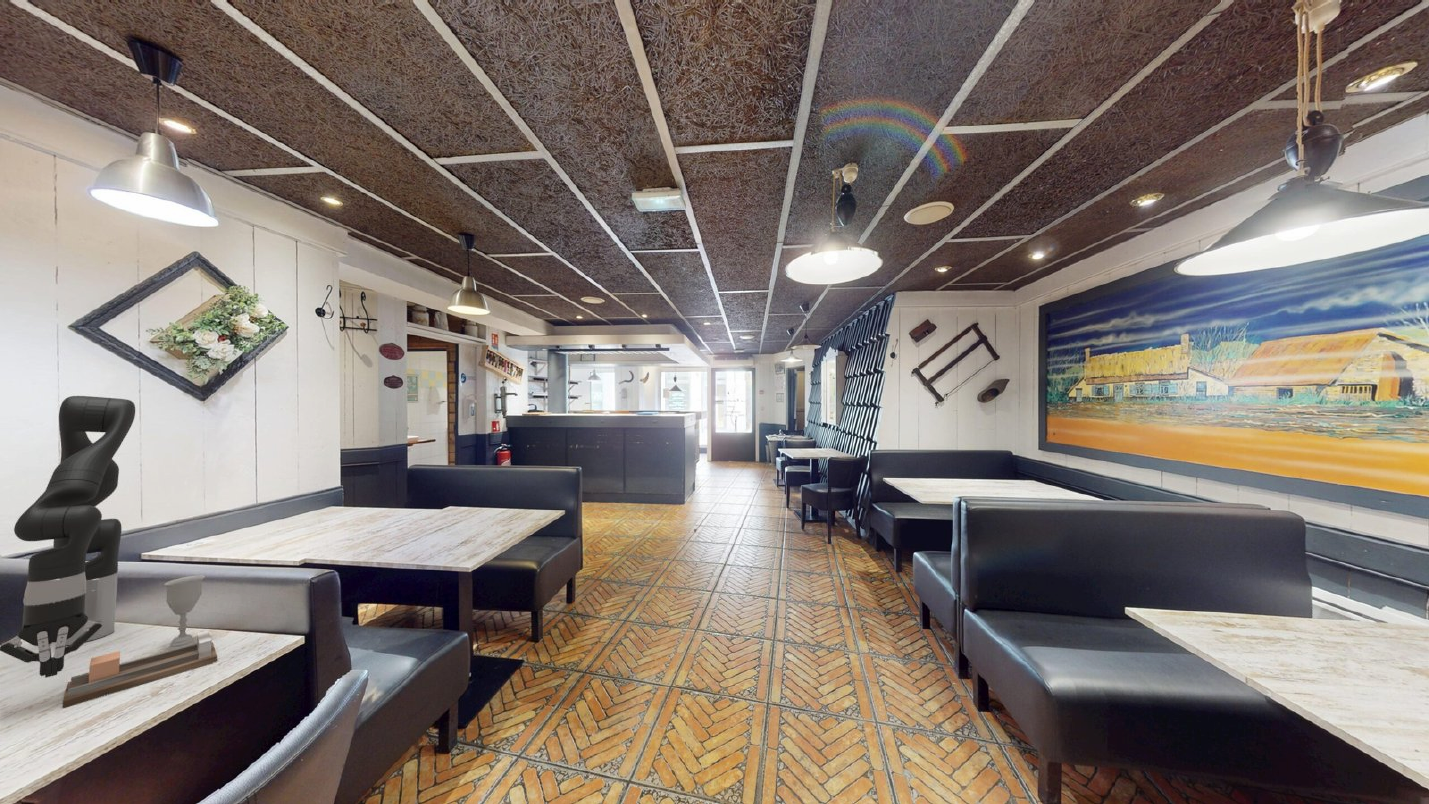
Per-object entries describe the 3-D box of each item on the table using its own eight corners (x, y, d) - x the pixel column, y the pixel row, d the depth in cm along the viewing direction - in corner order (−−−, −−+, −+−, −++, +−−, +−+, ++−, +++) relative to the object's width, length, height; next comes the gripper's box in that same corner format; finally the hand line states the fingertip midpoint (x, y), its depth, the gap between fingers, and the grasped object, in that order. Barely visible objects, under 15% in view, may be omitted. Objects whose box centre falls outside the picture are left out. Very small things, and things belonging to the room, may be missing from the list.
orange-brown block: (89, 679, 100) (91, 658, 100) (119, 671, 103) (120, 650, 103) (88, 688, 97) (89, 665, 97) (118, 679, 100) (119, 657, 100)
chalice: (176, 653, 114) (180, 585, 115) (152, 652, 114) (155, 585, 115) (209, 638, 121) (212, 575, 122) (186, 638, 121) (189, 575, 122)
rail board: (67, 688, 99) (68, 664, 99) (212, 647, 117) (213, 627, 117) (62, 708, 92) (63, 682, 93) (216, 661, 110) (217, 640, 110)
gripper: (108, 583, 103) (104, 656, 102) (1, 602, 92) (-4, 684, 91) (106, 590, 98) (102, 667, 97) (-5, 611, 87) (-11, 697, 87)
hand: (51, 675), depth 94 cm, fingers closed
